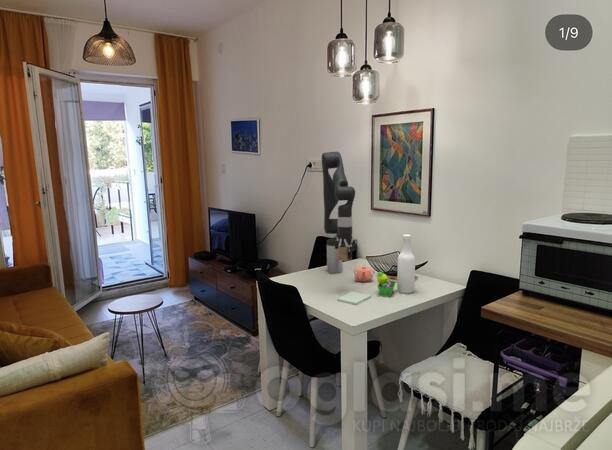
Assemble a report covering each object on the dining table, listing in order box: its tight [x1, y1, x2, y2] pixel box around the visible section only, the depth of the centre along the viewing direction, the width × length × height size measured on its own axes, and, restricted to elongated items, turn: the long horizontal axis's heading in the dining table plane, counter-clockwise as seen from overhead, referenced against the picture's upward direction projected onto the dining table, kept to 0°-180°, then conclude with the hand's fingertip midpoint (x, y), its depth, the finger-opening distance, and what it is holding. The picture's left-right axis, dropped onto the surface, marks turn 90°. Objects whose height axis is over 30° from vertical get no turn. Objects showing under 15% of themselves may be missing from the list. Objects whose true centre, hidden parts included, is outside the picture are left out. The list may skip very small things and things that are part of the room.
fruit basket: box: [376, 271, 396, 297], centre depth 211 cm, size 11×9×11 cm
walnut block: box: [338, 245, 353, 262], centre depth 213 cm, size 5×5×7 cm
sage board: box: [336, 291, 372, 306], centre depth 204 cm, size 14×11×1 cm
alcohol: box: [396, 233, 416, 295], centre depth 212 cm, size 9×9×30 cm
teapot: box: [353, 264, 375, 283], centre depth 234 cm, size 12×15×8 cm
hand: (345, 257), depth 213 cm, fingers closed on walnut block, 5 cm apart
